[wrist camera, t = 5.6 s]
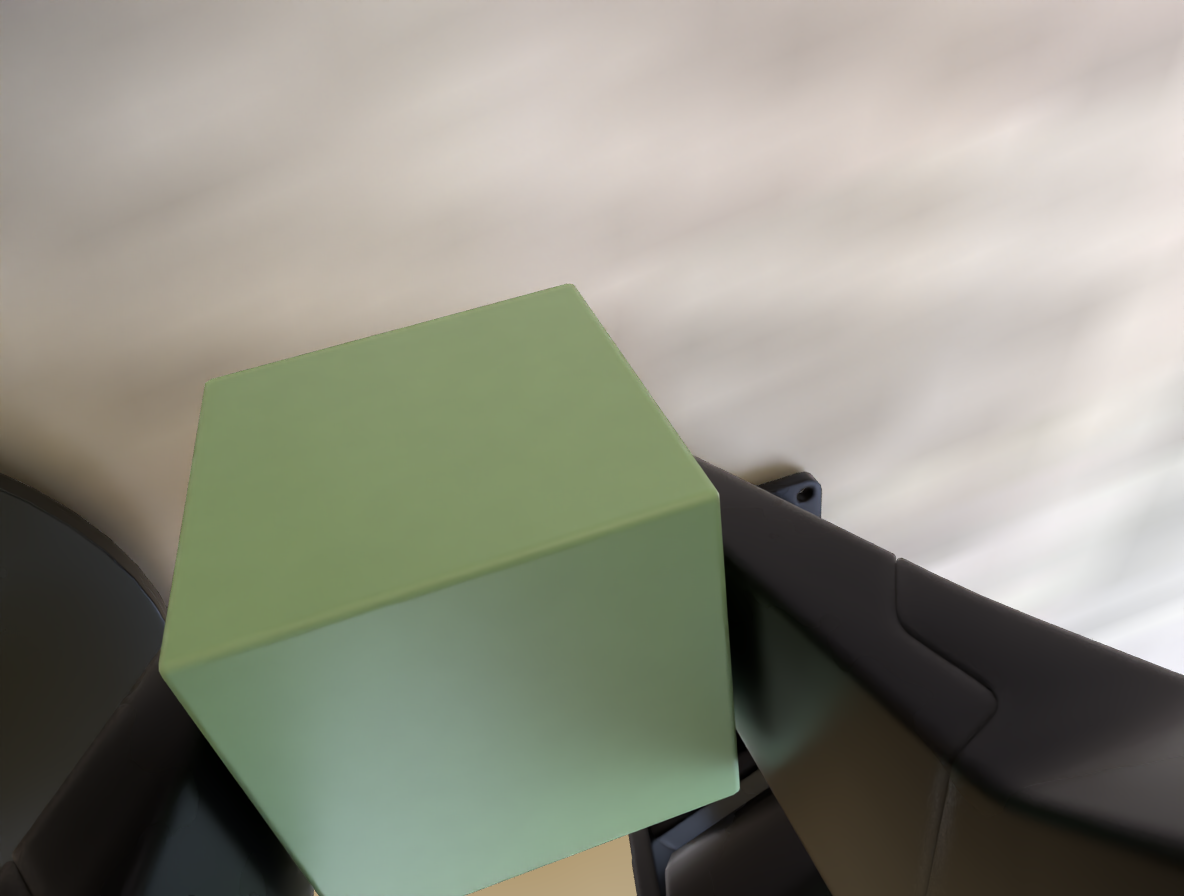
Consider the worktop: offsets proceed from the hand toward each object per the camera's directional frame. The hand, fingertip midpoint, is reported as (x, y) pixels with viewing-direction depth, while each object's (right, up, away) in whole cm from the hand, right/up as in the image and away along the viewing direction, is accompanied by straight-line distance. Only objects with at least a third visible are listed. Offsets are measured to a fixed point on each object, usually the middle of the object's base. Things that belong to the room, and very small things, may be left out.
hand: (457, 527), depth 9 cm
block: (0, +1, +1) cm, 1 cm away
